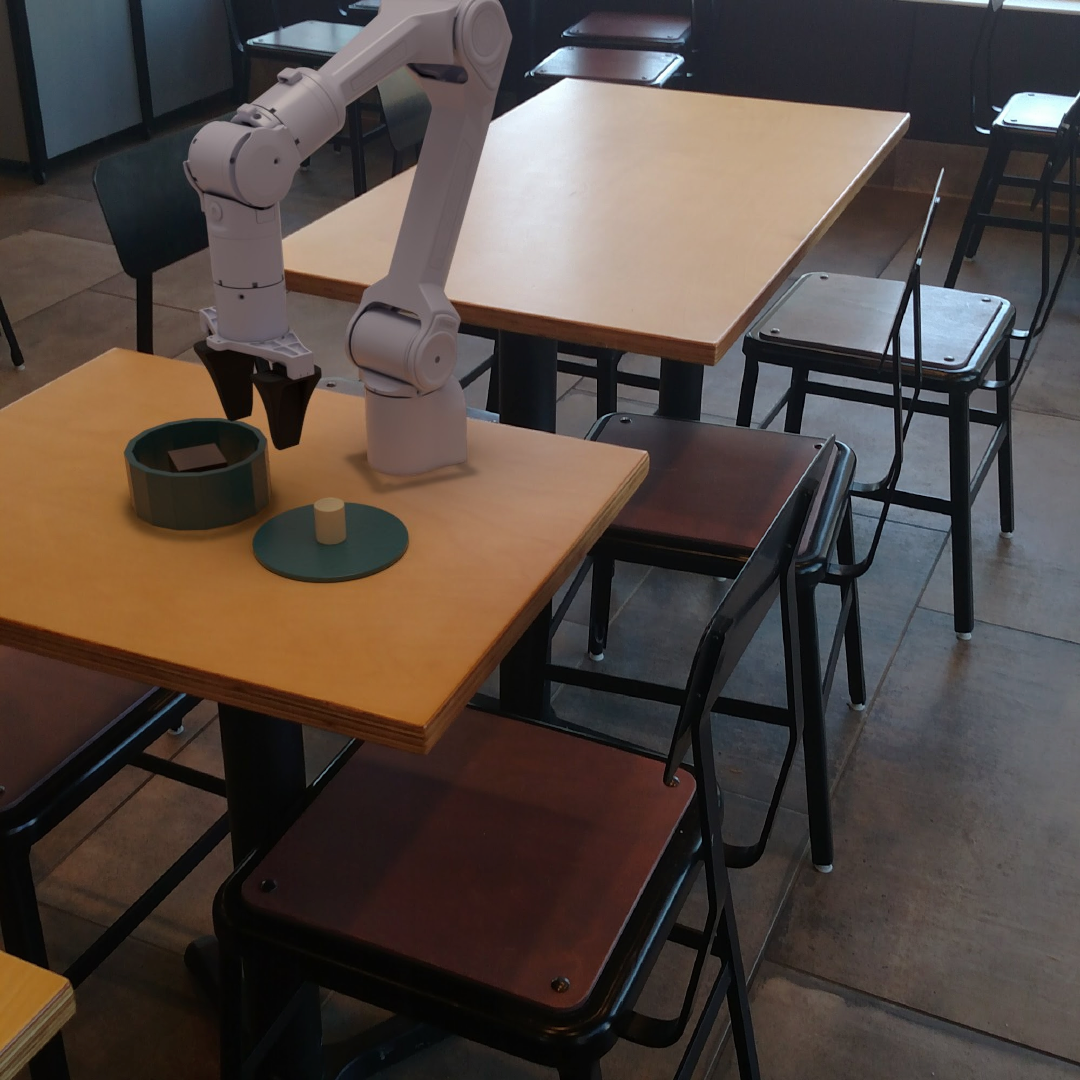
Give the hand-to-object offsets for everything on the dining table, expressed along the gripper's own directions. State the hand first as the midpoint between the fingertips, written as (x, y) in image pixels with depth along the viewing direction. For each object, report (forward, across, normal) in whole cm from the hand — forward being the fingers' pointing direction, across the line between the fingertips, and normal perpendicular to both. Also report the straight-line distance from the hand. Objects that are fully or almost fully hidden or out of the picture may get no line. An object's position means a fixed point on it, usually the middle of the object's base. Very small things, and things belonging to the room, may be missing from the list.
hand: (262, 431), depth 108 cm
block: (+9, -8, -2) cm, 12 cm away
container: (+9, -8, -2) cm, 13 cm away
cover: (+9, +7, +2) cm, 11 cm away
